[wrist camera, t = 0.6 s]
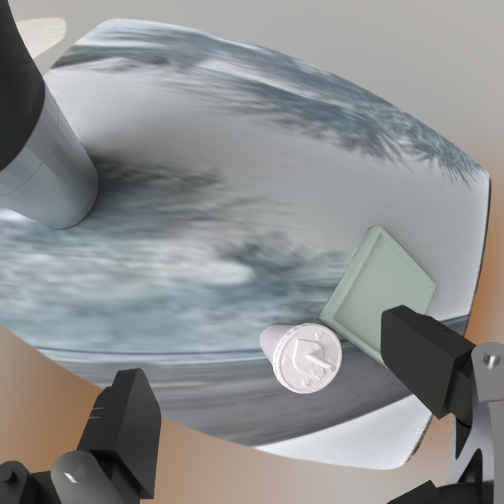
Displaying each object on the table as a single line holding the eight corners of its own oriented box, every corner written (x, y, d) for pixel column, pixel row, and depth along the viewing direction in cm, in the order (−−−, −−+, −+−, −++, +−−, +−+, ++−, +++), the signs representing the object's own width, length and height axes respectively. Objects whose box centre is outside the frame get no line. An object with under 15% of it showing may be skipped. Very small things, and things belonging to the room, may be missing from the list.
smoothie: (282, 301, 34) (349, 313, 21) (309, 344, 34) (382, 374, 21) (236, 334, 32) (279, 369, 19) (267, 376, 33) (321, 427, 19)
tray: (317, 318, 35) (326, 320, 33) (369, 227, 38) (379, 225, 36) (385, 367, 37) (395, 371, 35) (426, 285, 40) (436, 285, 38)
